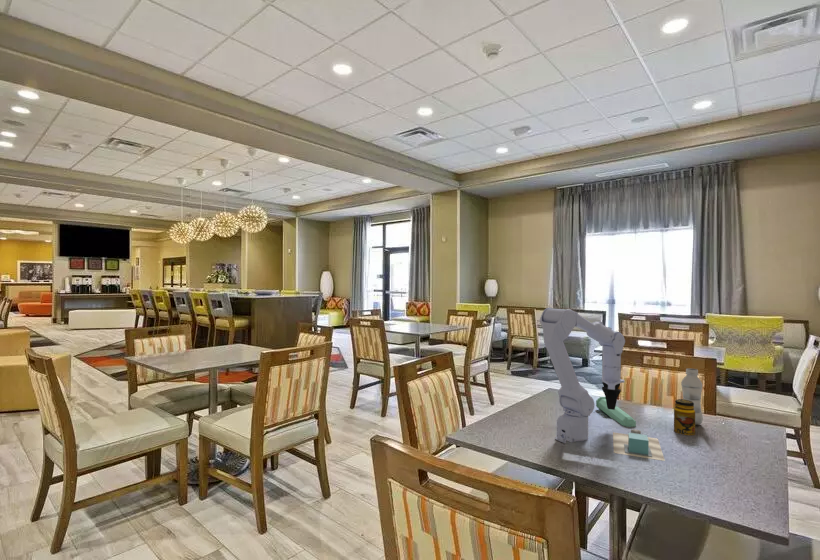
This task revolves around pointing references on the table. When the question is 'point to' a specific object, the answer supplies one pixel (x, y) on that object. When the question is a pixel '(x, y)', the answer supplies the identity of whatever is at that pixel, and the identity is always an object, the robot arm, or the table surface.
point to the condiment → (684, 417)
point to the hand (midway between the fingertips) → (611, 406)
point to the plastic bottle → (693, 392)
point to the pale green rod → (615, 413)
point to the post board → (622, 448)
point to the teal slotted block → (638, 443)
